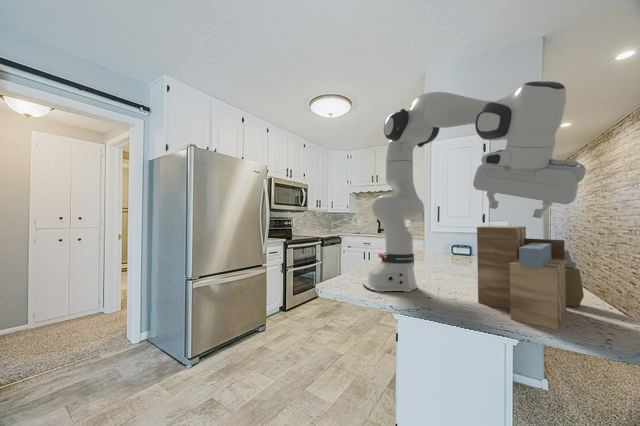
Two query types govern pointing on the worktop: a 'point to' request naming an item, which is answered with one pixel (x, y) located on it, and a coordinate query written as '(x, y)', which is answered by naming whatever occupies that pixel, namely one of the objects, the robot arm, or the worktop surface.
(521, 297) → the stepped wooden blocks
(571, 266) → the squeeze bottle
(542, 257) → the blue-grey bar
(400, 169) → the robot arm
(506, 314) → the worktop surface
